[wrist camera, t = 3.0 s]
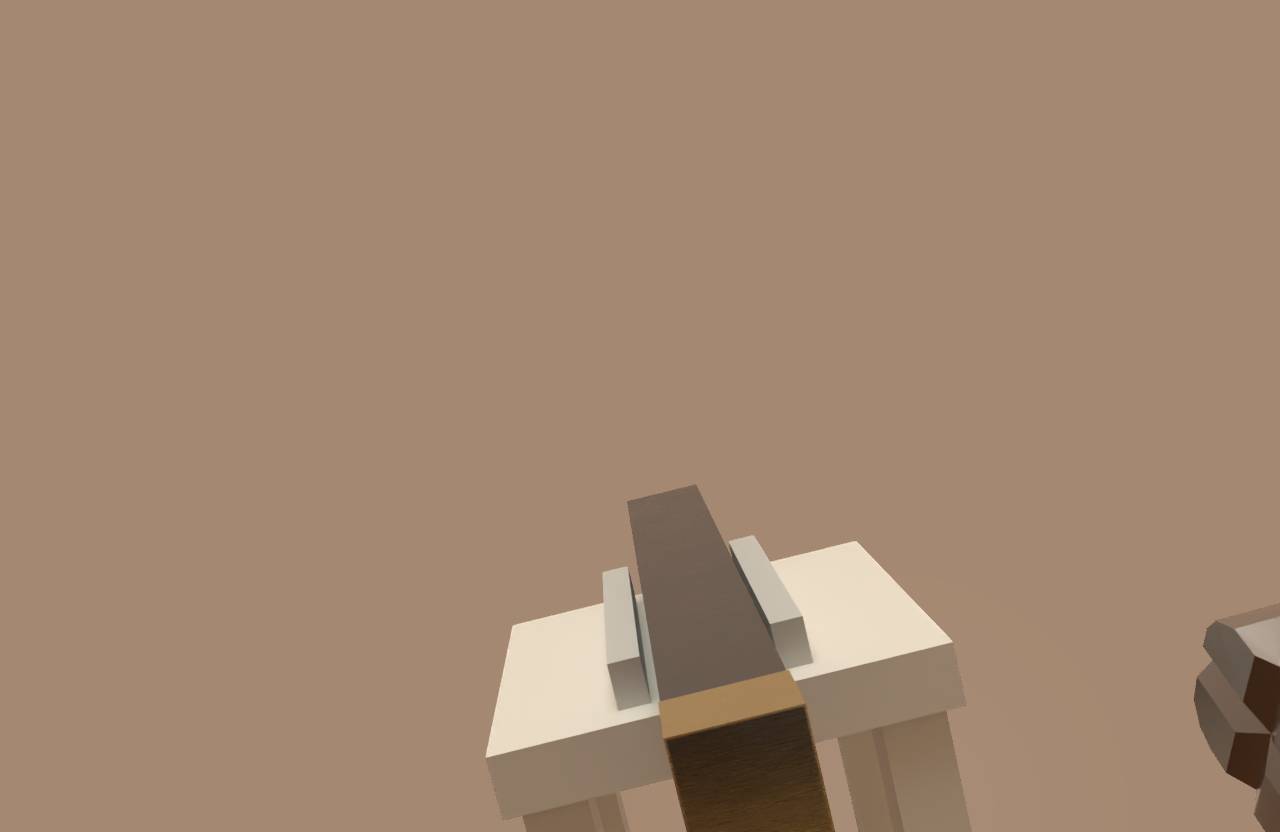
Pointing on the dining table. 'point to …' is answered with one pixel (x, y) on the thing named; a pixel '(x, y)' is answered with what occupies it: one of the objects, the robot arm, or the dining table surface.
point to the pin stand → (809, 648)
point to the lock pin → (721, 681)
